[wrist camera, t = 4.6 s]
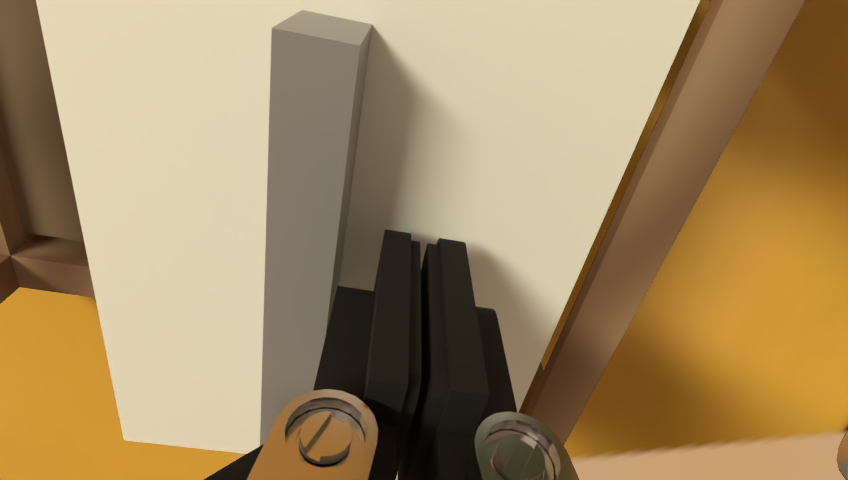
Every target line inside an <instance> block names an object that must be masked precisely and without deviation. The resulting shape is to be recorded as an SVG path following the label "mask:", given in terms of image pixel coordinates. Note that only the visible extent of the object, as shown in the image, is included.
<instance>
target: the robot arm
mask: <svg viewBox="0 0 848 480" xmlns="http://www.w3.org/2000/svg"><path fill="white" fill-rule="evenodd" d="M837 462H838V467H839V471H840V472H841V473H842V475H843V476H844V478H845V479H846V480H848V431H847V432H846V433H845V435H844V437H843V439H842V442H841V444H840V446H839V450H838V456H837ZM397 472H398V480H579V478H578V476H577V473H576V471H575V469H574V466H573V464H572V462H571V460H570V457H569V455H568V453H567V451H566V449H565V448H564V446H563V444H562V443H561V441H560V439H559V438H558V437H557V436H556V435H555V434H554V433H553V432H552V431H551V430H550V429H549V428H548V427H547V426H545V425H544V424H542V423H541V422H539V421H538V420H536V419H535V418H532V417H530V416H527V415H524V414H522V413H517V408H516V403H515V398H514V394H513V389H512V384H511V379H510V375H509V370H508V365H507V360H506V356H505V351H504V346H503V341H502V337H501V332H500V327H499V322H498V318H497V314H496V311H495V310H494V309H490V308H484V307H477V306H476V305H475V299H474V293H473V286H472V280H471V274H470V267H469V261H468V255H467V248H466V244H465V242H461V241H455V240H449V239H442V238H439V239H438V241H437V243H436V244H430V243H428V244H427V246H426V250H425V254H424V259H423V263H422V267H421V251H420V242H418V241H412V240H411V233H406V232H400V231H394V230H387V229H385V232H384V237H383V242H382V248H381V253H380V259H379V264H378V270H377V275H376V281H375V286H374V291H370V290H363V289H356V288H349V287H343V286H338V287H337V290H336V294H335V298H334V302H333V307H332V311H331V315H330V320H329V324H328V328H327V333H326V337H325V341H324V346H323V350H322V354H321V359H320V363H319V367H318V372H317V376H316V380H315V384H314V389H313V391H310V392H307V393H305V394H302V395H300V396H297V397H296V398H295V399H293V400H292V401H291V402H289V403H288V404H287V405H286V406H285V407H284V408H283V410H282V411H281V413H280V414H279V415H278V417H277V418H276V420H275V423H274V425H273V427H272V429H271V431H270V433H269V435H268V437H267V439H266V441H265V443H264V444H263V445H261V446H259V447H258V448H256V449H254V450H253V451H251V452H249V453H248V454H246V455H244V456H243V457H241V458H239V459H238V460H236V461H234V462H233V463H231V464H229V465H228V466H226V467H224V468H222V469H221V470H219V471H217V472H216V473H214V474H212V475H211V476H209V477H207V478H206V479H204V480H395V479H396V476H397Z"/></svg>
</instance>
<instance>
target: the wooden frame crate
mask: <svg viewBox="0 0 848 480" xmlns="http://www.w3.org/2000/svg"><path fill="white" fill-rule="evenodd" d="M804 2H805V0H711V3H710V5H709V7H708V9H707V11H706V14H705V16H704V18H703V20H702V23H701V25H700V27H699V29H698V31H697V34H696V36H695V38H694V40H693V42H692V45H691V47H690V49H689V51H688V53H687V56H686V58H685V60H684V62H683V65H682V67H681V69H680V71H679V73H678V76H677V78H676V80H675V82H674V84H673V87H672V89H671V91H670V93H669V95H668V98H667V100H666V102H665V104H664V107H663V109H662V111H661V113H660V115H659V118H658V120H657V122H656V124H655V126H654V129H653V131H652V133H651V135H650V138H649V140H648V142H647V144H646V146H645V149H644V151H643V153H642V155H641V157H640V160H639V162H638V164H637V166H636V168H635V171H634V173H633V175H632V177H631V180H630V182H629V184H628V186H627V188H626V191H625V193H624V195H623V197H622V199H621V202H620V204H619V206H618V208H617V210H616V213H615V215H614V217H613V219H612V222H611V224H610V226H609V228H608V230H607V233H606V235H605V237H604V239H603V241H602V244H601V246H600V248H599V250H598V252H597V255H596V257H595V259H594V261H593V264H592V266H591V268H590V270H589V272H588V275H587V277H586V279H585V281H584V283H583V286H582V288H581V290H580V292H579V294H578V297H577V299H576V301H575V303H574V306H573V308H572V310H571V312H570V314H569V317H568V319H567V321H566V323H565V325H564V328H563V330H562V332H561V334H560V336H559V339H558V341H557V343H556V345H555V348H554V350H553V352H552V354H551V356H550V359H549V361H548V363H547V365H546V367H545V370H544V372H543V369H542V365H541V362H540V364H539V367H538V369H537V371H536V373H535V376H534V378H533V380H532V382H531V385H530V387H529V389H528V392H527V394H526V396H525V398H524V401H523V403H522V405H521V407H520V410H519V412H518V413H522V414H524V415H527V416H530V417H532V418H535V419H536V420H538V421H539V422H541V423H542V424H544V425H545V426H547V427H548V428H549V429H550V430H551V431H552V432H553V433H554V434H555V435H556V436H557V437H558V438H559V439H560V441H561V443H562V444H563V446H564V444H565V442H566V440H567V438H568V436H569V435H570V433H571V431H572V429H573V427H574V425H575V424H576V422H577V420H578V418H579V416H580V414H581V413H582V411H583V409H584V407H585V405H586V403H587V401H588V400H589V398H590V396H591V394H592V392H593V390H594V389H595V387H596V385H597V383H598V381H599V379H600V377H601V376H602V374H603V372H604V370H605V368H606V366H607V365H608V363H609V361H610V359H611V357H612V355H613V354H614V352H615V350H616V348H617V346H618V344H619V342H620V341H621V339H622V337H623V335H624V333H625V331H626V330H627V328H628V326H629V324H630V322H631V320H632V319H633V317H634V315H635V313H636V311H637V309H638V307H639V306H640V304H641V302H642V300H643V298H644V296H645V295H646V293H647V291H648V289H649V287H650V285H651V284H652V282H653V280H654V278H655V276H656V274H657V272H658V271H659V269H660V267H661V265H662V263H663V261H664V260H665V258H666V256H667V254H668V252H669V250H670V249H671V247H672V245H673V243H674V241H675V239H676V237H677V236H678V234H679V232H680V230H681V228H682V226H683V225H684V223H685V221H686V219H687V217H688V215H689V214H690V212H691V210H692V208H693V206H694V204H695V202H696V201H697V199H698V197H699V195H700V193H701V191H702V190H703V188H704V186H705V184H706V182H707V180H708V178H709V177H710V175H711V173H712V171H713V169H714V167H715V166H716V164H717V162H718V160H719V158H720V156H721V155H722V153H723V151H724V149H725V147H726V145H727V143H728V142H729V140H730V138H731V136H732V134H733V132H734V131H735V129H736V127H737V125H738V123H739V121H740V120H741V118H742V116H743V114H744V112H745V110H746V108H747V107H748V105H749V103H750V101H751V99H752V97H753V96H754V94H755V92H756V90H757V88H758V86H759V85H760V83H761V81H762V79H763V77H764V75H765V73H766V72H767V70H768V68H769V66H770V64H771V62H772V61H773V59H774V57H775V55H776V53H777V51H778V50H779V48H780V46H781V44H782V42H783V40H784V38H785V37H786V35H787V33H788V31H789V29H790V27H791V26H792V24H793V22H794V20H795V18H796V16H797V14H798V13H799V11H800V9H801V7H802V5H803V3H804ZM19 287H23V288H30V289H37V290H45V291H52V292H59V293H66V294H73V295H80V296H88V297H95V293H94V288H93V283H92V278H91V273H90V268H89V263H88V258H87V253H86V248H85V243H84V238H83V233H82V228H81V223H80V218H79V213H78V208H77V203H76V198H75V193H74V188H73V183H72V178H71V173H70V168H69V163H68V158H67V153H66V148H65V143H64V138H63V133H62V128H61V123H60V118H59V113H58V108H57V103H56V98H55V93H54V88H53V83H52V78H51V73H50V68H49V63H48V58H47V53H46V48H45V43H44V38H43V33H42V28H41V23H40V18H39V13H38V8H37V3H36V0H0V303H2V302H3V301H4V300H5V299H6V298H7V297H9V296H10V295H11V294H12V293H13V292H14V291H15V290H17V289H18V288H19Z"/></svg>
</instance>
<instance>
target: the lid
mask: <svg viewBox="0 0 848 480" xmlns="http://www.w3.org/2000/svg"><path fill="white" fill-rule="evenodd" d="M699 2H700V0H36V3H37V8H38V13H39V18H40V23H41V28H42V33H43V38H44V43H45V48H46V53H47V58H48V63H49V68H50V73H51V78H52V83H53V88H54V93H55V98H56V103H57V108H58V113H59V118H60V123H61V128H62V133H63V138H64V143H65V148H66V153H67V158H68V163H69V168H70V173H71V178H72V183H73V188H74V193H75V198H76V203H77V208H78V213H79V218H80V223H81V228H82V233H83V238H84V243H85V248H86V253H87V258H88V263H89V268H90V273H91V278H92V283H93V288H94V293H95V298H96V303H97V308H98V313H99V318H100V323H101V328H102V333H103V338H104V343H105V348H106V353H107V358H108V363H109V368H110V373H111V378H112V383H113V388H114V393H115V398H116V403H117V408H118V413H119V418H120V423H121V428H122V433H123V438H124V440H127V441H136V442H145V443H154V444H163V445H172V446H181V447H190V448H199V449H208V450H217V451H226V452H235V453H244V454H248V453H249V452H251V451H253V450H254V449H256V448H258V447H259V446H261V445H263V444H264V443H265V441H266V439H267V437H268V435H269V433H270V431H271V429H272V427H273V425H274V423H275V420H276V418H277V417H278V415H279V414H280V413H281V411H282V410H283V408H284V407H285V406H286V405H287V404H288V403H289V402H291V401H292V400H293V399H295V398H296V397H297V396H300V395H302V394H305V393H307V392H310V391H313V389H314V384H315V380H316V376H317V372H318V367H319V363H320V359H321V354H322V350H323V346H324V341H325V337H326V333H327V328H328V324H329V320H330V315H331V311H332V307H333V302H334V298H335V294H336V290H337V287H338V286H343V287H349V288H356V289H363V290H370V291H374V286H375V281H376V275H377V270H378V264H379V259H380V253H381V248H382V242H383V237H384V232H385V229H387V230H394V231H400V232H406V233H411V240H412V241H418V242H420V251H421V267H422V263H423V259H424V254H425V250H426V246H427V244H428V243H430V244H436V243H437V241H438V239H439V238H442V239H449V240H455V241H461V242H465V244H466V248H467V255H468V261H469V267H470V274H471V280H472V286H473V293H474V299H475V305H476V306H477V307H484V308H490V309H494V310H495V311H496V314H497V318H498V322H499V327H500V332H501V337H502V341H503V346H504V351H505V356H506V360H507V365H508V370H509V375H510V379H511V384H512V389H513V394H514V398H515V403H516V408H517V413H518V412H519V410H520V407H521V405H522V403H523V401H524V398H525V396H526V394H527V392H528V389H529V387H530V385H531V382H532V380H533V378H534V376H535V373H536V371H537V369H538V367H539V364H540V362H541V360H542V358H543V355H544V353H545V351H546V348H547V346H548V344H549V342H550V339H551V337H552V335H553V333H554V330H555V328H556V326H557V324H558V321H559V319H560V317H561V315H562V312H563V310H564V308H565V305H566V303H567V301H568V299H569V296H570V294H571V292H572V290H573V287H574V285H575V283H576V281H577V278H578V276H579V274H580V271H581V269H582V267H583V265H584V262H585V260H586V258H587V256H588V253H589V251H590V249H591V247H592V244H593V242H594V240H595V237H596V235H597V233H598V231H599V228H600V226H601V224H602V222H603V219H604V217H605V215H606V213H607V210H608V208H609V206H610V203H611V201H612V199H613V197H614V194H615V192H616V190H617V188H618V185H619V183H620V181H621V179H622V176H623V174H624V172H625V169H626V167H627V165H628V163H629V160H630V158H631V156H632V154H633V151H634V149H635V147H636V145H637V142H638V140H639V138H640V135H641V133H642V131H643V129H644V126H645V124H646V122H647V120H648V117H649V115H650V113H651V111H652V108H653V106H654V104H655V101H656V99H657V97H658V95H659V92H660V90H661V88H662V86H663V83H664V81H665V79H666V77H667V74H668V72H669V70H670V67H671V65H672V63H673V61H674V58H675V56H676V54H677V52H678V49H679V47H680V45H681V43H682V40H683V38H684V36H685V34H686V31H687V29H688V27H689V24H690V22H691V20H692V18H693V15H694V13H695V11H696V9H697V6H698V4H699Z"/></svg>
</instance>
